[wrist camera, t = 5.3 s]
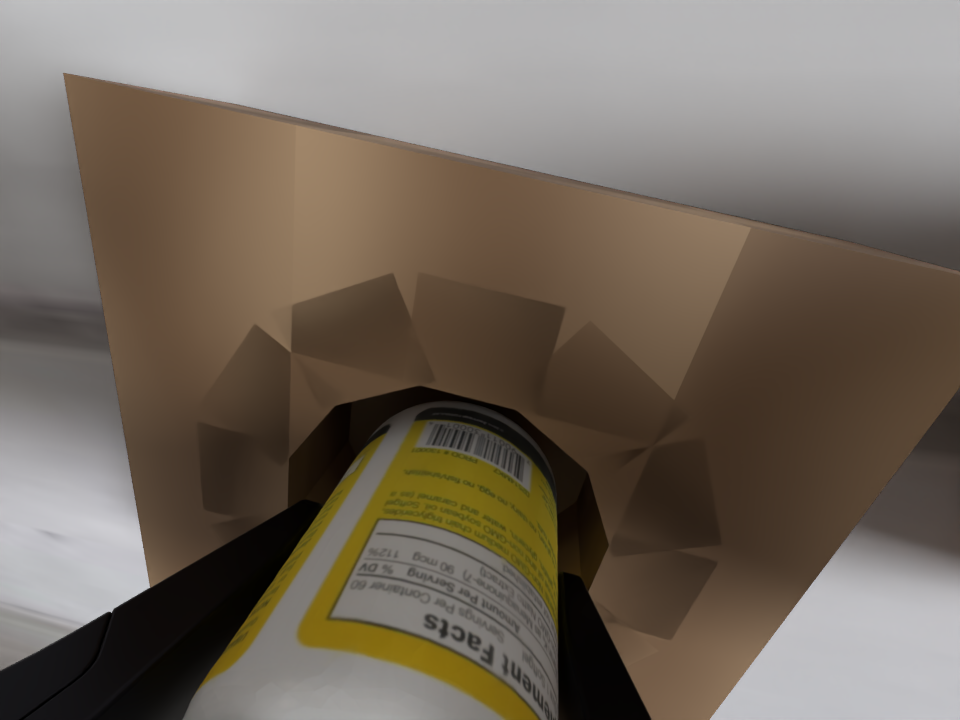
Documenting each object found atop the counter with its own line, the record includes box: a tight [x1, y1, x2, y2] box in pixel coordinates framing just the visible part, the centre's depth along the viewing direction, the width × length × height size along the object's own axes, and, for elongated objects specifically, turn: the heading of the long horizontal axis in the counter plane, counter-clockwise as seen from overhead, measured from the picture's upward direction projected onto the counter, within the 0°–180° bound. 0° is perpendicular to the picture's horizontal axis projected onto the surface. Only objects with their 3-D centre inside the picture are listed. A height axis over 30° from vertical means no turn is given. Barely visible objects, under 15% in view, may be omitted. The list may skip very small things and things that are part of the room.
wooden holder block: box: [63, 73, 960, 720], centre depth 11 cm, size 14×14×4 cm
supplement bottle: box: [183, 401, 558, 720], centre depth 7 cm, size 5×5×8 cm
